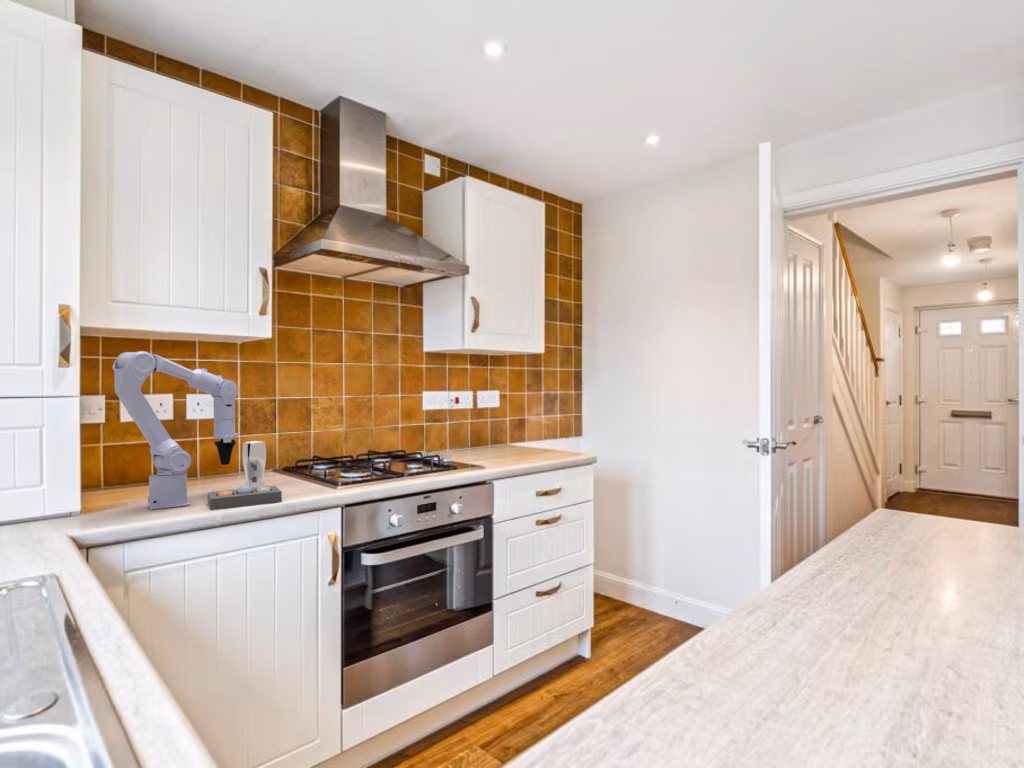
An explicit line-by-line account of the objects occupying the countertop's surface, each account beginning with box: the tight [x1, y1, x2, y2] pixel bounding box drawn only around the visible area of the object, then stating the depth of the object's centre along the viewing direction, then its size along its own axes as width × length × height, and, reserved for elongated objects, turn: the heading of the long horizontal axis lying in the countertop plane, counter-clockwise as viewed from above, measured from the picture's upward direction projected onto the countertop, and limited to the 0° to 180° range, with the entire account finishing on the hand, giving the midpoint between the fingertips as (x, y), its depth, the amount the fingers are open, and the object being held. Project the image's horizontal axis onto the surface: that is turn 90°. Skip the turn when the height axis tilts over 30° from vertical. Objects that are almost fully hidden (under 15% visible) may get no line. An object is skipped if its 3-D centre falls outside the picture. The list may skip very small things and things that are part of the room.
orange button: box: [217, 490, 232, 496], centre depth 163 cm, size 4×4×3 cm
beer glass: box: [241, 440, 267, 488], centre depth 186 cm, size 7×7×15 cm
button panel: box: [207, 485, 283, 511], centre depth 166 cm, size 18×10×3 cm, turn 122°
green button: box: [257, 486, 270, 492], centre depth 168 cm, size 4×4×3 cm
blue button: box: [237, 485, 252, 494], centre depth 166 cm, size 4×4×3 cm
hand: (225, 464), depth 176 cm, fingers closed
